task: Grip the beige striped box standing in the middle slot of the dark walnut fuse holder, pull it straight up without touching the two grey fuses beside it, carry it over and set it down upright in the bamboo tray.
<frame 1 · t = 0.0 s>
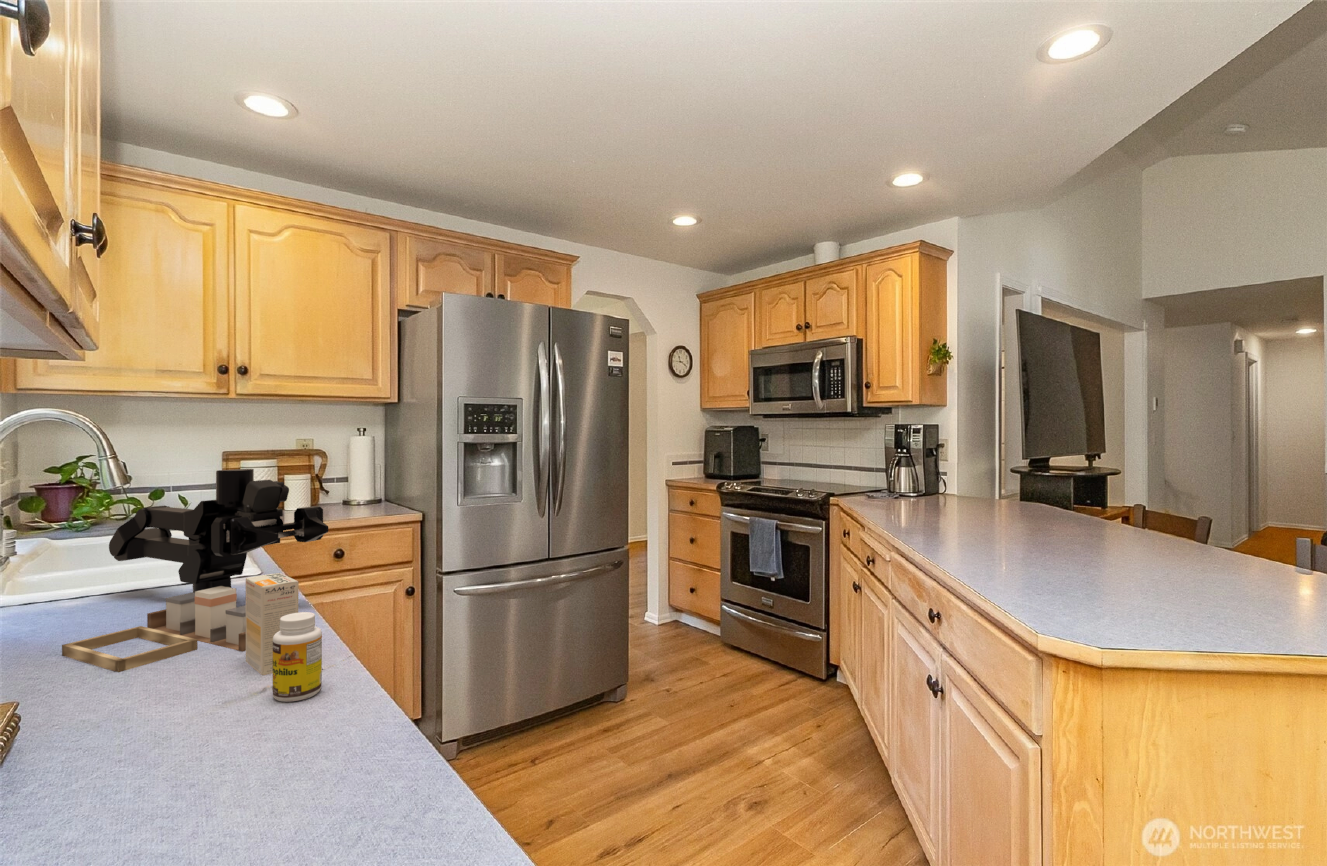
hand: (303, 532, 110), 17 cm above the countertop, tool horizontal, fingers open, 9 cm apart
fuse holder: (215, 638, 105), on the countertop
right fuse: (247, 639, 102), resting on fuse holder
left fuse: (186, 626, 108), resting on fuse holder
supplement bottle: (297, 696, 84), on the countertop
beige striped box: (215, 632, 105), point 1 cm above the countertop, touching fuse holder
supplement box: (272, 671, 92), on the countertop
tray: (130, 658, 96), on the countertop
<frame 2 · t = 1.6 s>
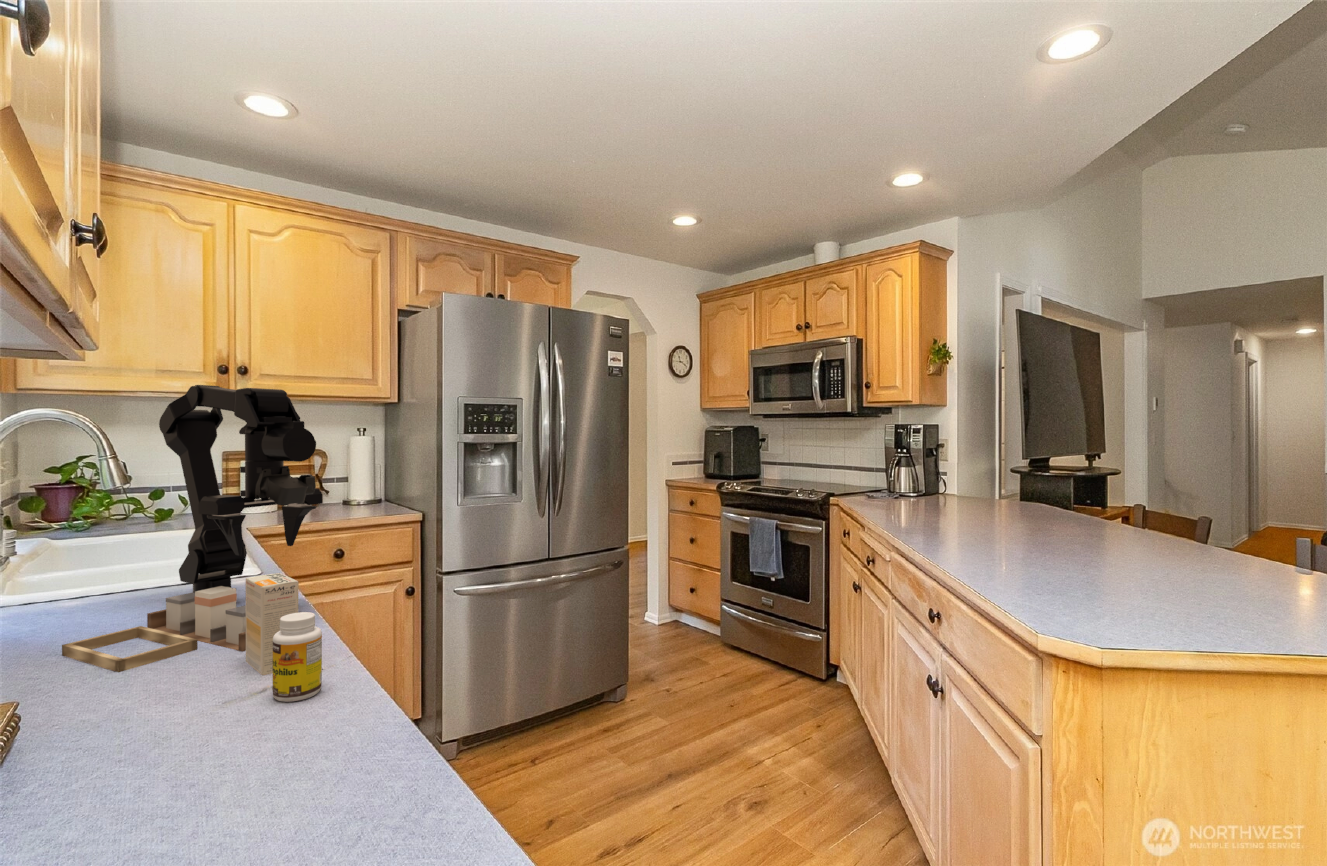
hand: (265, 550, 112), 13 cm above the countertop, tool pointing down, fingers open, 9 cm apart
nothing on the countertop moved.
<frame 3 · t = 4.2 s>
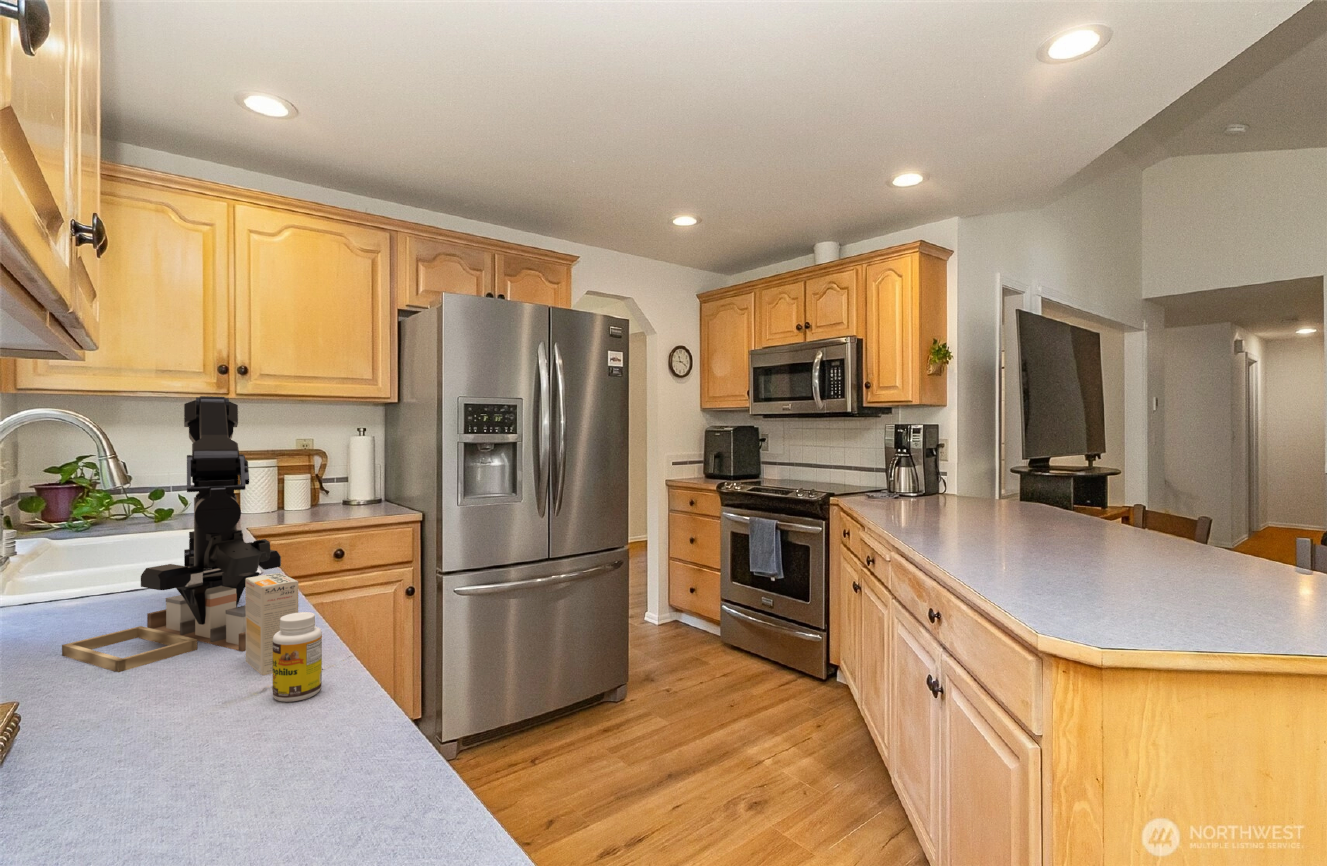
hand: (215, 620, 105), 3 cm above the countertop, tool pointing down, fingers closed on beige striped box, 4 cm apart
beige striped box: (215, 632, 105), point 1 cm above the countertop, touching fuse holder, gripper
everything else where it was.
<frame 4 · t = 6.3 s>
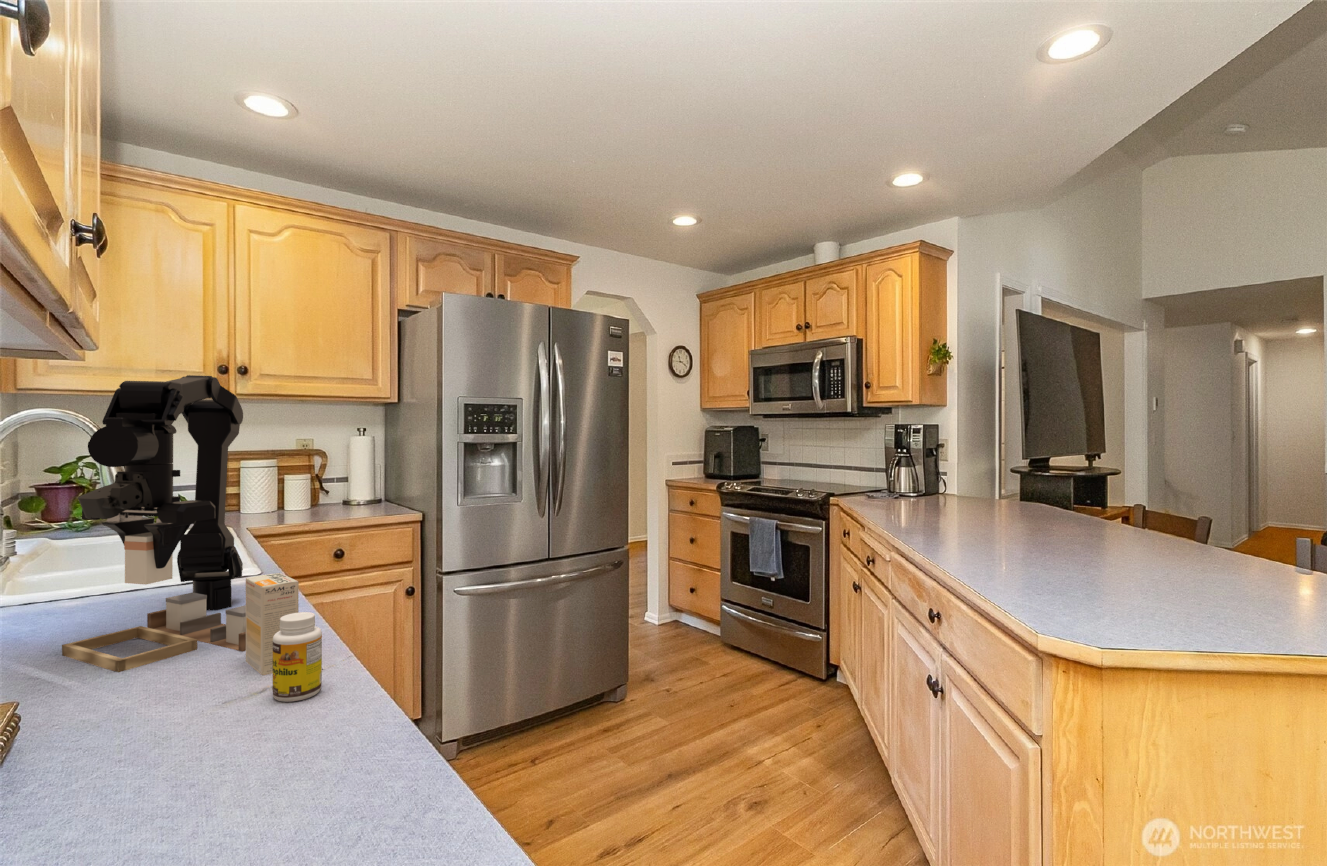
hand: (149, 567, 97), 13 cm above the countertop, tool pointing down, fingers closed on beige striped box, 4 cm apart
beige striped box: (149, 580, 97), point 11 cm above the countertop, touching gripper
everything else where it was.
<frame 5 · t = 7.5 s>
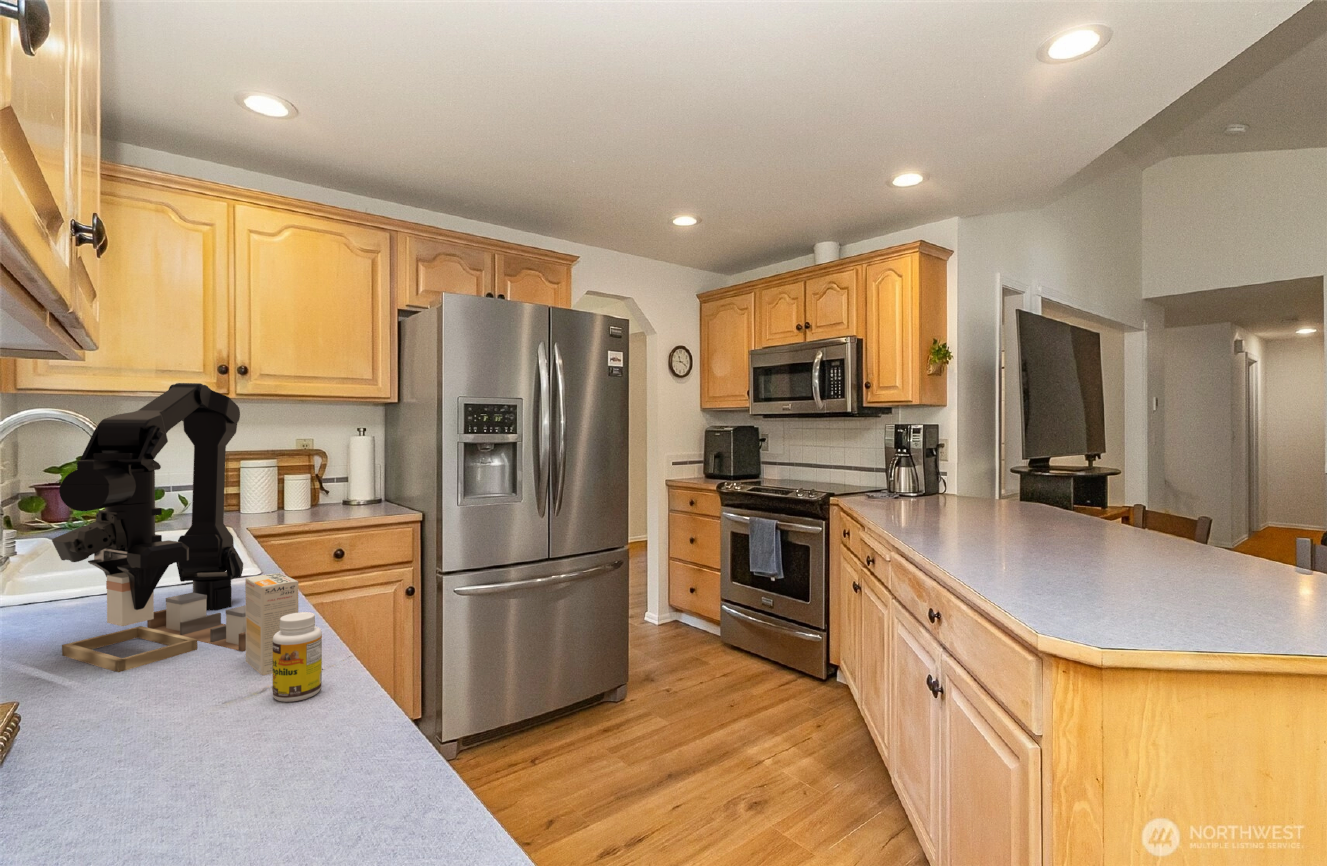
hand: (130, 607, 96), 8 cm above the countertop, tool pointing down, fingers closed on beige striped box, 4 cm apart
beige striped box: (130, 620, 96), point 6 cm above the countertop, touching gripper
everything else where it was.
when the fingers open (4 cm above the countertop, at t = 8.6 s): beige striped box stays where it is, resting on tray.
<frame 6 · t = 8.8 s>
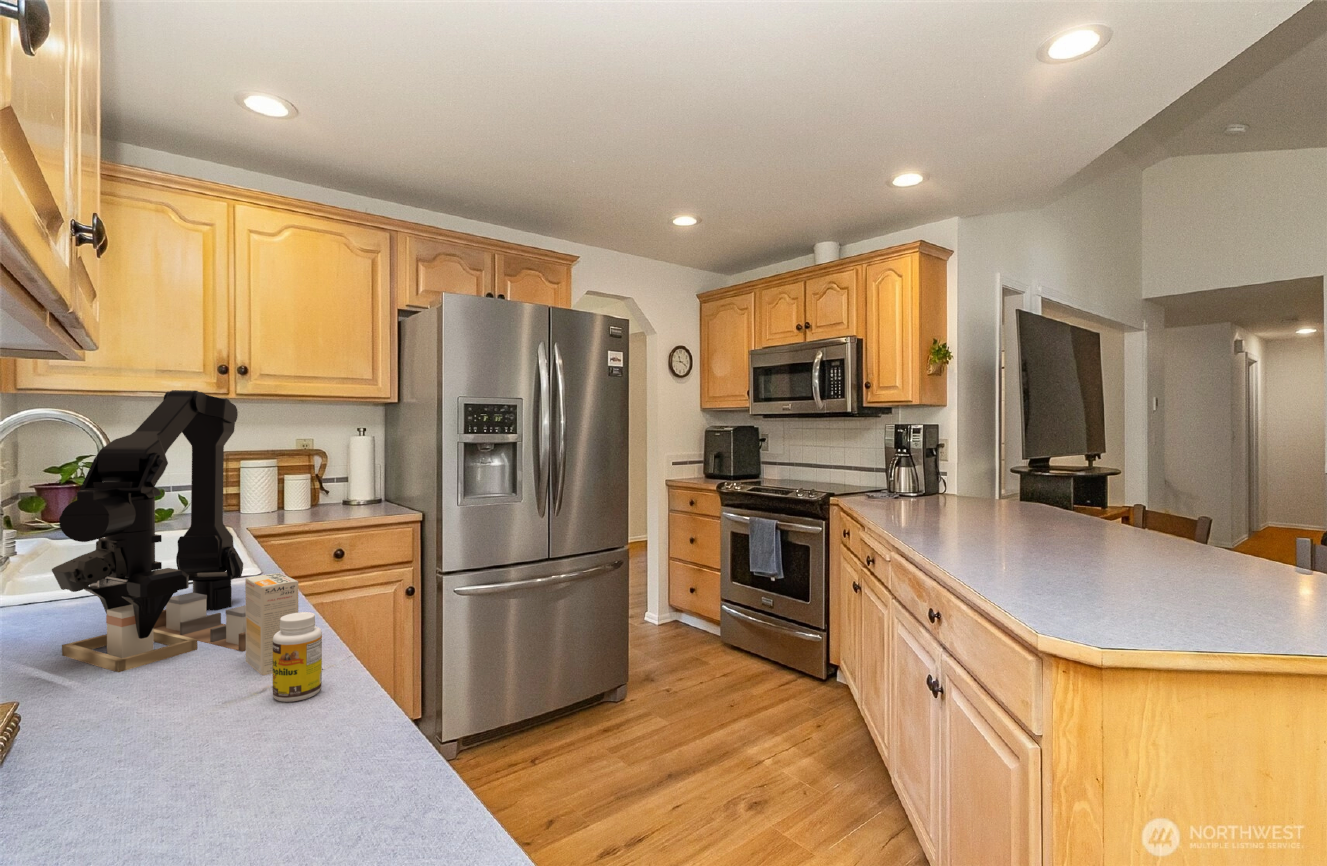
hand: (130, 634, 96), 4 cm above the countertop, tool pointing down, fingers open, 6 cm apart
beige striped box: (130, 654, 96), point 1 cm above the countertop, touching tray
everything else where it was.
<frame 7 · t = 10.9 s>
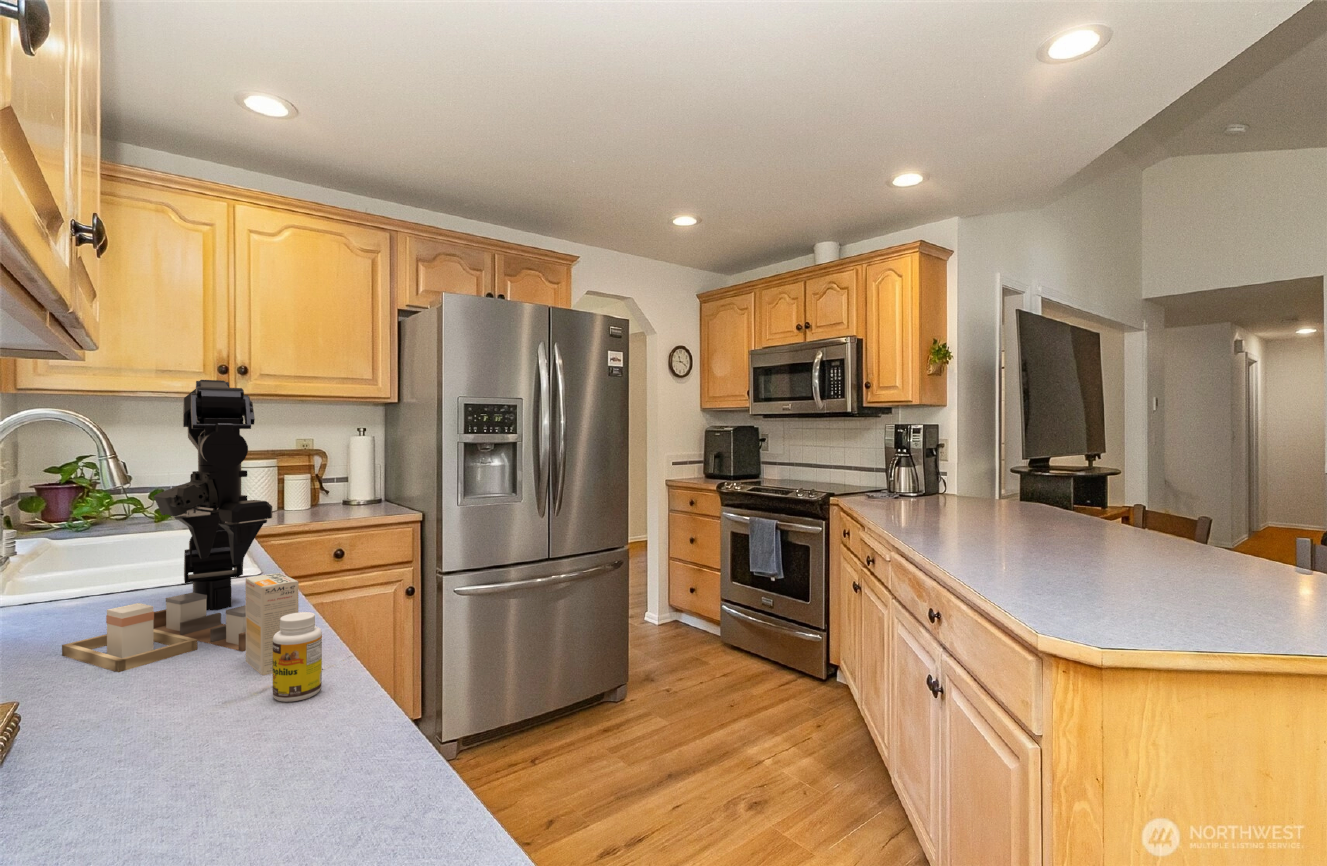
hand: (220, 561, 104), 13 cm above the countertop, tool pointing down, fingers open, 9 cm apart
nothing on the countertop moved.
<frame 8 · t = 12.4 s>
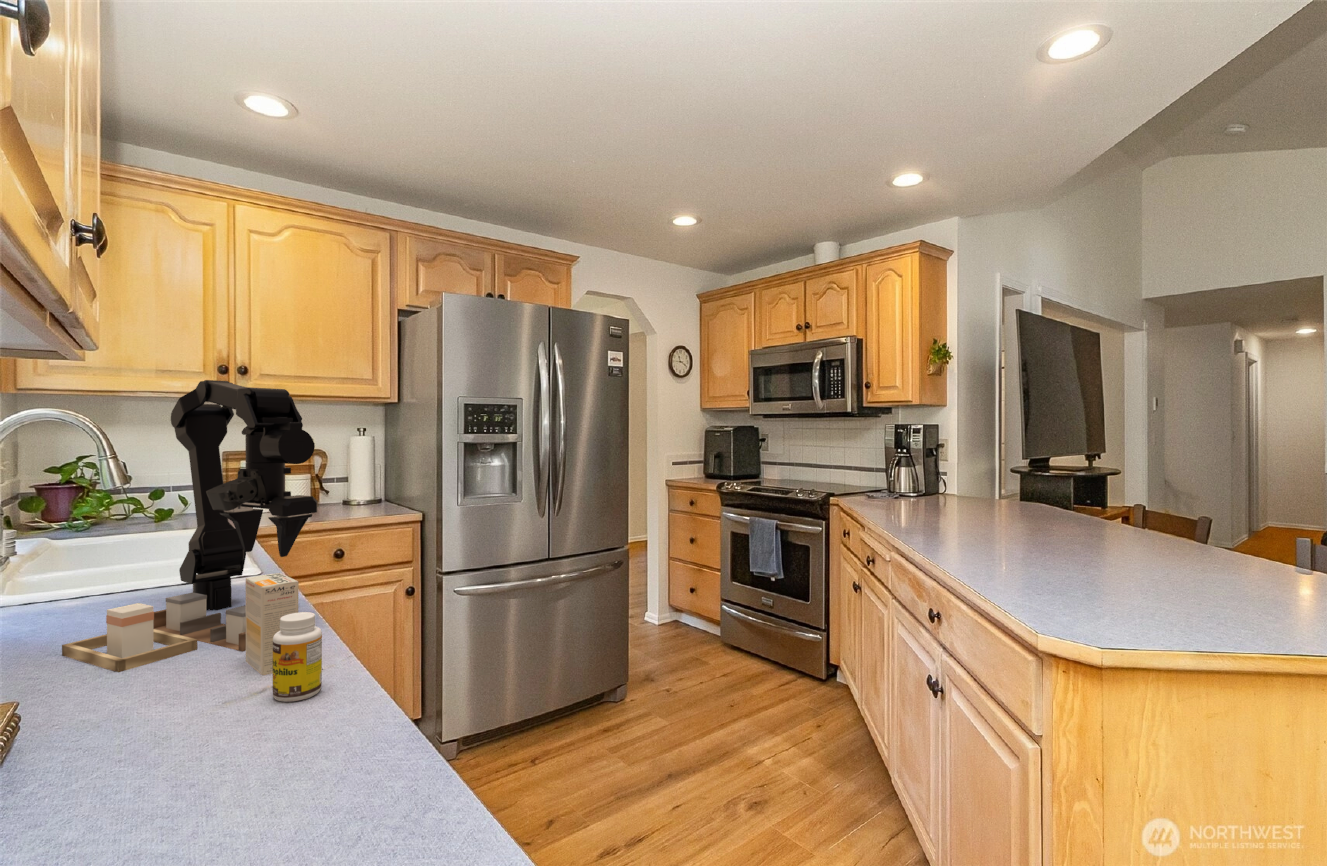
hand: (265, 554, 109), 13 cm above the countertop, tool pointing down, fingers open, 9 cm apart
nothing on the countertop moved.
at the end: beige striped box inside the target area on the tray (0.0 cm from its centre), point 0.6 cm above the tray's base; beige striped box tilted 0°; the gripper is holding nothing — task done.
